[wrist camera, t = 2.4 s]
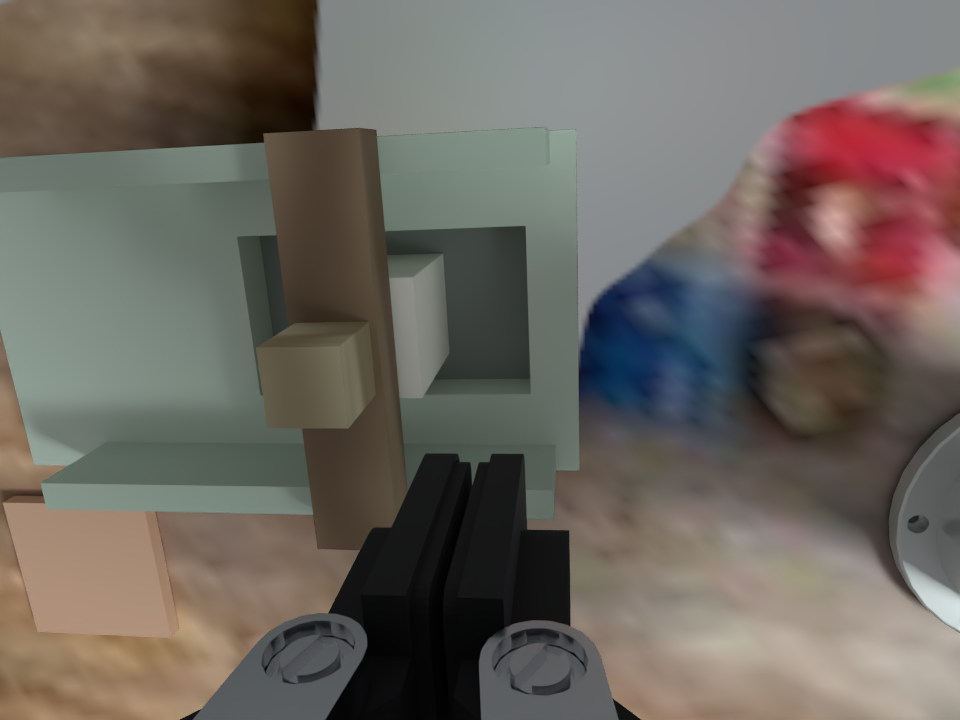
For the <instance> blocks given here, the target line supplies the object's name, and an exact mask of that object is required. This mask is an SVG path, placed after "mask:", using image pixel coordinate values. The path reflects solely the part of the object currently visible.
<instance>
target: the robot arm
mask: <svg viewBox="0 0 960 720" xmlns="http://www.w3.org/2000/svg"><path fill="white" fill-rule="evenodd" d="M889 539H890V546H891V550H892V553H893V557H894V560H895V564H896V566H897V568H898V570H899V572H900V573H901V575H902V577H903V579H904V580H905V582H906V584H907V586H908V587H909V588H910V589H911V591H912V592H913V593H914V594H915V596H916V597H917V598H918V599H919V601H920V602H921V603H922V605H923V606H924V607H925V608H927V609H928V610H929V611H930V612H931V613H932V614H933V615H934V616H935V617H937V618H938V619H939V620H940V621H941V622H943V623H944V624H946V625H947V626H949V627H951V628H952V629H954V630H955V631H957V632H959V633H960V413H959V414H957V415H956V416H955V417H953V418H952V419H951V420H949V421H948V422H946V423H945V424H944V425H942V426H941V427H940V428H939V429H938V430H937V431H936V432H935V433H934V434H933V435H932V436H931V437H930V438H929V439H928V440H927V441H926V442H925V443H924V444H923V445H922V446H921V447H920V448H919V449H918V451H917V452H916V454H915V455H914V457H913V458H912V459H911V461H910V462H909V464H908V465H907V467H906V468H905V470H904V471H903V474H902V476H901V478H900V481H899V483H898V485H897V488H896V490H895V493H894V495H893V499H892V505H891V510H890V515H889ZM180 720H641V719H639V718H638V717H637V716H635V715H634V714H633V713H631V712H630V711H629V710H627V709H626V708H625V707H623V706H622V705H621V704H619V703H618V702H617V701H615V700H614V699H613V698H612V695H611V691H610V688H609V684H608V681H607V677H606V674H605V670H604V667H603V663H602V660H601V656H600V654H599V652H598V650H597V648H596V646H595V645H594V643H593V642H592V641H591V640H590V639H589V638H588V637H587V636H586V635H584V634H583V633H582V632H580V631H578V630H576V629H574V628H572V627H570V554H569V530H527V512H526V482H525V459H524V454H491V457H490V462H479V464H478V467H477V471H476V474H475V478H474V482H473V485H472V472H471V464H470V462H460V460H459V456H458V454H454V453H426V454H425V455H424V457H423V459H422V461H421V464H420V466H419V468H418V470H417V472H416V475H415V477H414V479H413V481H412V483H411V485H410V488H409V490H408V492H407V494H406V496H405V499H404V501H403V503H402V505H401V507H400V510H399V512H398V514H397V516H396V518H395V521H394V523H393V525H392V527H375V528H372V530H371V531H370V532H369V534H368V536H367V538H366V540H365V542H364V544H363V546H362V548H361V550H360V552H359V554H358V556H357V558H356V560H355V562H354V564H353V566H352V568H351V570H350V571H349V573H348V575H347V577H346V579H345V581H344V583H343V585H342V587H341V589H340V591H339V593H338V595H337V597H336V599H335V601H334V603H333V605H332V607H331V609H330V611H329V613H317V614H311V615H305V616H301V617H298V618H295V619H292V620H290V621H287V622H284V623H283V624H281V625H279V626H277V627H276V628H274V629H272V630H271V631H269V632H268V633H267V634H266V635H265V636H264V637H263V638H262V639H261V640H259V641H258V642H257V644H256V645H255V646H254V647H253V648H252V649H251V651H250V652H249V653H248V654H247V655H246V657H245V658H244V659H243V660H242V661H241V663H240V664H239V665H238V666H237V667H236V669H235V670H234V671H233V672H232V673H231V674H230V676H229V677H228V678H227V679H226V680H225V682H224V683H223V684H222V685H221V686H220V688H219V689H218V690H217V691H216V692H215V694H214V695H213V696H212V697H211V698H210V700H209V701H208V702H207V703H206V704H205V705H204V707H203V708H202V709H200V710H198V711H196V712H194V713H192V714H190V715H188V716H186V717H184V718H182V719H180Z"/></svg>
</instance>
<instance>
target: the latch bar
mask: <svg viewBox="0 0 960 720" xmlns="http://www.w3.org/2000/svg"><path fill="white" fill-rule="evenodd" d="M263 136H264V143H265V151H266V158H267V166H268V174H269V181H270V189H271V196H272V204H273V212H274V219H275V227H276V235H277V242H278V250H279V257H280V265H281V273H282V280H283V288H284V296H285V303H286V311H287V318H288V326H289V327H288V328H286V329H285V330H283V331H282V332H280V333H278V334H277V335H275V336H274V337H272V338H270V339H269V340H267V341H266V342H264V343H262V344H261V345H259V346H258V347H256V352H257V359H258V366H259V372H260V379H261V386H262V393H263V400H264V407H265V413H266V420H267V427H268V428H302V433H303V440H304V448H305V455H306V463H307V471H308V478H309V486H310V494H311V501H312V509H313V516H314V524H315V532H316V539H317V547H318V549H341V550H361V548H362V546H363V544H364V542H365V540H366V538H367V536H368V534H369V532H370V531H371V530H372V528H375V527H392V525H393V523H394V521H395V518H396V516H397V514H398V512H399V510H400V507H401V505H402V503H403V501H404V499H405V496H406V494H407V492H408V489H407V477H406V466H405V455H404V443H403V432H402V420H401V409H400V397H399V386H398V374H397V363H396V351H395V340H394V329H393V317H392V306H391V294H390V283H389V271H388V260H387V248H386V237H385V225H384V214H383V202H382V191H381V180H380V168H379V157H378V145H377V134H376V130H372V129H363V128H351V129H333V130H315V131H298V132H281V133H264V134H263Z"/></svg>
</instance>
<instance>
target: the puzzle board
mask: <svg viewBox="0 0 960 720" xmlns="http://www.w3.org/2000/svg"><path fill="white" fill-rule="evenodd" d="M377 145H378V157H379V168H380V180H381V191H382V202H383V214H384V225H385V237H386V248H387V255H405V254H436V253H443V259H444V275H445V290H446V306H447V321H448V337H449V355H448V356H447V358H446V360H445V361H444V363H443V365H442V366H441V368H440V370H439V371H438V373H437V375H436V376H435V378H434V379H433V381H432V383H431V384H430V386H429V388H428V389H427V391H426V393H425V394H424V396H423V398H400V409H401V420H402V432H403V443H404V455H405V466H406V477H407V489H408V490H409V488H410V485H411V483H412V481H413V479H414V477H415V475H416V472H417V470H418V468H419V466H420V464H421V461H422V459H423V457H424V455H425V454H426V453H454V454H458V456H459V460H460V462H470V464H471V472H472V485H473V482H474V478H475V474H476V471H477V467H478V464H479V462H490V457H491V454H524V459H525V482H526V512H527V519H554V504H555V484H556V470H560V471H579V367H578V265H577V169H576V168H577V163H576V162H577V159H576V129H569V130H550V131H549V130H548V129H547V128H546V127H535V128H517V129H501V130H500V129H499V130H483V131H465V132H447V133H429V134H411V135H393V136H377ZM288 327H289V326H288V318H287V311H286V303H285V296H284V288H283V280H282V273H281V265H280V257H279V250H278V242H277V235H276V227H275V219H274V212H273V204H272V196H271V189H270V181H269V174H268V166H267V158H266V151H265V143H251V144H234V145H216V146H198V147H181V148H163V149H145V150H127V151H110V152H92V153H74V154H57V155H39V156H21V157H3V158H0V331H1V335H2V339H3V343H4V347H5V351H6V355H7V359H8V362H9V366H10V370H11V374H12V378H13V382H14V386H15V390H16V394H17V398H18V402H19V406H20V410H21V414H22V418H23V422H24V426H25V430H26V434H27V438H28V442H29V446H30V450H31V453H32V457H33V461H34V465H69V466H67V467H66V468H64V469H62V470H61V471H59V472H58V473H56V474H54V475H53V476H51V477H50V478H48V479H46V480H45V481H43V482H42V483H40V484H41V488H42V492H43V496H44V500H45V504H46V508H47V509H50V510H101V511H151V512H202V513H252V514H303V515H313V509H312V501H311V494H310V486H309V478H308V471H307V463H306V455H305V448H304V440H303V433H302V428H268V427H267V420H266V413H265V407H264V400H263V393H262V386H261V379H260V372H259V366H258V359H257V352H256V347H258V346H259V345H261V344H262V343H264V342H266V341H267V340H269V339H270V338H272V337H274V336H275V335H277V334H278V333H280V332H282V331H283V330H285V329H286V328H288Z"/></svg>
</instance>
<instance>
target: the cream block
mask: <svg viewBox="0 0 960 720" xmlns="http://www.w3.org/2000/svg"><path fill="white" fill-rule="evenodd" d="M387 260H388V271H389V283H390V294H391V306H392V317H393V329H394V340H395V351H396V363H397V374H398V386H399V397H400V398H423V396H424V394H425V393H426V391H427V389H428V388H429V386H430V384H431V383H432V381H433V379H434V378H435V376H436V375H437V373H438V371H439V370H440V368H441V366H442V365H443V363H444V361H445V360H446V358H447V356H448V355H449V337H448V321H447V306H446V290H445V275H444V259H443V253H436V254H405V255H387Z"/></svg>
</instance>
